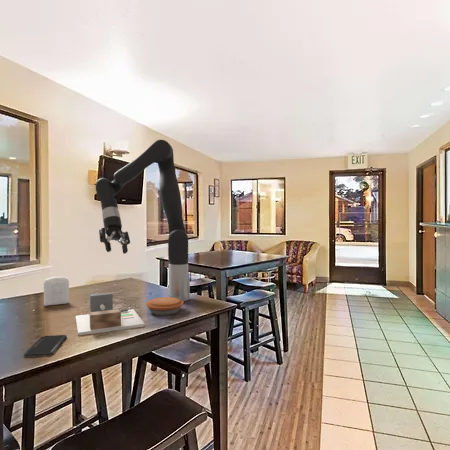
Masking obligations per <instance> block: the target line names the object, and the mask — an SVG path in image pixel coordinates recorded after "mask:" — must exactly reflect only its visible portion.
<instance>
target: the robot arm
mask: <svg viewBox="0 0 450 450" xmlns="http://www.w3.org/2000/svg"><path fill="white" fill-rule="evenodd" d="M174 159H175V158H174V148H173V146H172V145H171V144H170V143H169V142H168V140H165V139H157V140H155V141H154V142H153V143H151V145H149V147H147V149H146V150H144V151H143V152H142V153H140V155H138V157H135V159H133V160H131V162H129V163H127V164H126V165H124V166H123V167H121V168H120V169H117V171H116V172H114V174H113V178H114V179H113V180H112V181H110V180H109V179H108V178H105V177H100V178H99V179H97V180H96V182H95V191H96V194H97V197H98V199H99V201H100V204H101V212H102V214H101V215H102V221H103V227H102V228H101V229H99V231H98V234H99V242H100V243H103V244H104V246H105V251H106V252H107V253H110V252H112V245H111V241H114V242H115V241H116V242H118V243H119V244H120V245H121V248H122V249H121V250H122V253H123V254H127V253H128V251H129V250H128V245H129V244H131V240H130V235H129V232H128V231H123V229H122V225H123V224H122V219H121V214H120V210H119V206H118V201H117V199H116V198H115V197H114V196H115V195H117V194H118V193H119V192H120V191H121V190H122V189H123V188H124V187H125V185H126V184H128V183H130V182H131V181H133V180H135V178H137V177H138V176H139V175H140V174H141V173H143V172H144V170H146V168H148V167H149V166H151V165H153V164H155V163H156V162H157V166H158V172H159V193H160V194H159V195H160V199H161V204H162V207H163V211H164V214H165V217H166V220H167V226H168V238H167V255H168V256H167V257H168V297H172V298H177V299H179V300H181V301H183V302H187V301H190V297H191V296H190V295H191V294H190V292H191V289H190V287H191V286H190V285H191V284H190V283H191V280H190V279H189V236H188V234H187V230H186V227H185V223H184V219H183V204H182V196H181V191H180V186H179V182H178V177H177V174H176V170H175V162H174V161H175V160H174ZM106 235H107V236H106Z"/></svg>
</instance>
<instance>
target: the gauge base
mask: <svg viewBox="0 0 450 450" xmlns="http://www.w3.org/2000/svg"><path fill="white" fill-rule="evenodd" d="M75 322H76V323H75V324H76V331H77V336H85V335H92V334H99V333H107V332H113V331H114V332H115V331H121V330H129V329H136V328H142V327H145V322H144V321H143V320H142V318H141V317H140V316H139V314H138V313H137V312H136V311H135V309H134V308H131V309H128V311H126V312H121V326H117V327H110V328H102V329H95V330H90V313H89V314H88V313H87V314H80V315H75Z"/></svg>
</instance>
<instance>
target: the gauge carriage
mask: <svg viewBox="0 0 450 450" xmlns="http://www.w3.org/2000/svg"><path fill="white" fill-rule="evenodd" d="M113 294H114V293H112V292H103V293H101V292H100V293H92V294H89V313H90V312H98V311H107V310H114V308H113V307H114V306H113V305H114V304H113V302H114V301H113V300H114V299H113ZM119 310H120V311H121V312H126V311H128V310H129V309H119Z"/></svg>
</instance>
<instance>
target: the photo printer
mask: <svg viewBox="0 0 450 450" xmlns="http://www.w3.org/2000/svg"><path fill="white" fill-rule="evenodd" d="M69 297H70V281H69V278H68V277H66V276H51V277H48V278H45V279H44V282H43V306H46V307H47V306H55V305H63V304H69V302H70V301H69V300H70V298H69Z"/></svg>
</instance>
